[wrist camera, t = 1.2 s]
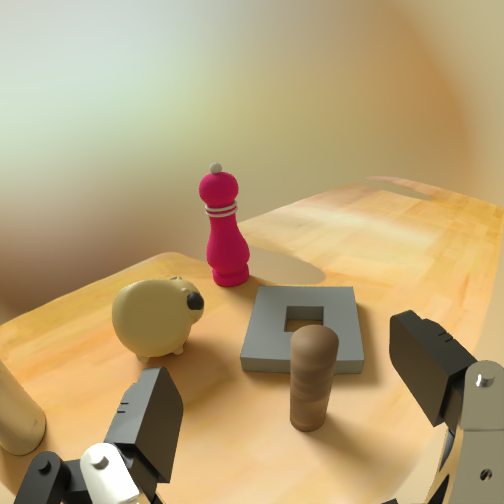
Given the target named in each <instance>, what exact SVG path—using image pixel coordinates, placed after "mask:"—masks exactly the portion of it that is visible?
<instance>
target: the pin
mask: <svg viewBox="0 0 504 504" xmlns="http://www.w3.org/2000/svg"><path fill="white" fill-rule="evenodd" d="M338 347H339V338H338V336H337V334H336V333H335V332H334V331H333V330H332V329H330V328H328V327H326V326H322V325H307V326H304V327H301V328H299V329H298V330H297V331H295V332H294V334H293V335H292V337H291V387H290V421H291V424H292V425H293V426H294V427H295V428H296V429H298V430H300V431H304V432H310V431H314V430H316V429H318V428H319V427H320V426H321V425H322V424H323V422H324V419H325V415H326V410H327V406H328V401H329V396H330V391H331V386H332V381H333V376H334V370H335V365H336V359H337V353H338Z"/></svg>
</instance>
